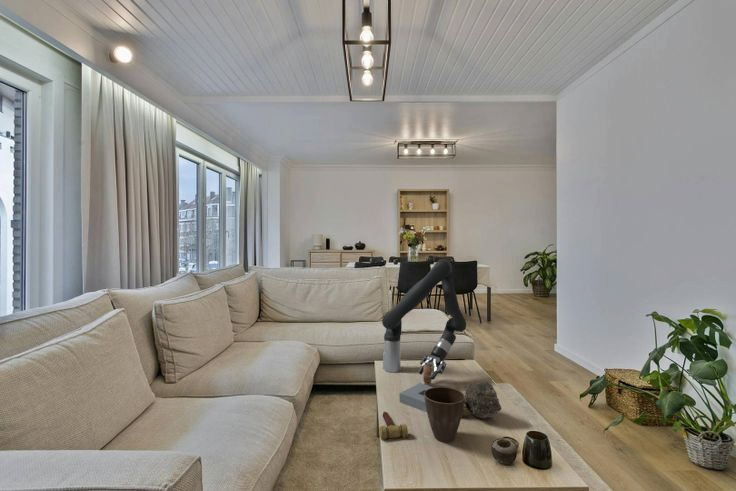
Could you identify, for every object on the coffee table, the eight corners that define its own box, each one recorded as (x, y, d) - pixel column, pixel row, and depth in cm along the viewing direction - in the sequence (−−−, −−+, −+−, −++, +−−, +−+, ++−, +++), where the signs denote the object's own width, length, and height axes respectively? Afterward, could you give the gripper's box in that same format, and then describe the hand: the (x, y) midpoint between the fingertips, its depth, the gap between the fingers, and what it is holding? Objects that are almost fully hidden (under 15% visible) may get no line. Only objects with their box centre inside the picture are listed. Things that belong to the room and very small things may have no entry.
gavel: (372, 407, 155) (395, 405, 156) (372, 418, 155) (395, 416, 156) (381, 429, 134) (407, 427, 136) (381, 442, 134) (408, 439, 136)
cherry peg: (421, 385, 185) (421, 366, 185) (426, 383, 188) (426, 364, 188) (428, 388, 182) (428, 368, 182) (433, 385, 185) (433, 366, 185)
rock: (497, 375, 153) (465, 372, 149) (507, 411, 143) (474, 409, 139) (475, 391, 165) (445, 389, 162) (484, 426, 156) (452, 424, 152)
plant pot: (436, 422, 147) (436, 383, 147) (471, 435, 138) (471, 393, 137) (416, 438, 136) (416, 395, 135) (453, 453, 126) (453, 407, 126)
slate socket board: (399, 401, 167) (399, 393, 167) (419, 391, 178) (419, 383, 178) (432, 414, 154) (432, 405, 154) (452, 402, 166) (452, 393, 166)
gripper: (428, 342, 195) (412, 368, 188) (448, 348, 183) (431, 376, 177) (435, 350, 198) (419, 376, 191) (455, 357, 186) (439, 384, 180)
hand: (425, 376), depth 184 cm, fingers open, 8 cm apart
